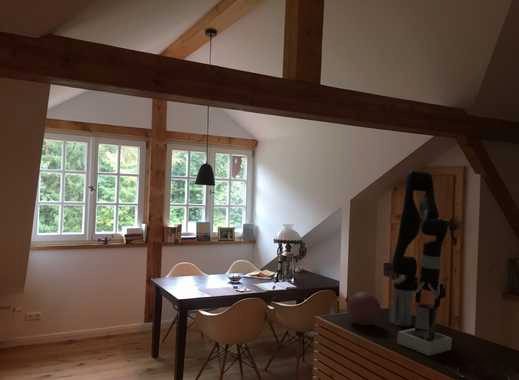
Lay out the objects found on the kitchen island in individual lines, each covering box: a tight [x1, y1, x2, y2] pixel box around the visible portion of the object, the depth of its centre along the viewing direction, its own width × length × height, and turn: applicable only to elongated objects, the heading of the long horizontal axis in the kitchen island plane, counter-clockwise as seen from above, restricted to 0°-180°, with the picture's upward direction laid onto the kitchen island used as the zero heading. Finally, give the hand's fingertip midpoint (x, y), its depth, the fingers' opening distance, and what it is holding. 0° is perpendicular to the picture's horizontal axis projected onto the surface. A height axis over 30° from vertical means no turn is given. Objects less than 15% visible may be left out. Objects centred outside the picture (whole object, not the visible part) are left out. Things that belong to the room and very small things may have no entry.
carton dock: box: [396, 327, 453, 357], centre depth 186 cm, size 15×16×5 cm
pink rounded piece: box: [344, 291, 382, 326], centre depth 212 cm, size 15×20×15 cm
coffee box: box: [414, 302, 438, 341], centre depth 186 cm, size 9×6×16 cm
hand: (427, 304), depth 186 cm, fingers open, 8 cm apart
